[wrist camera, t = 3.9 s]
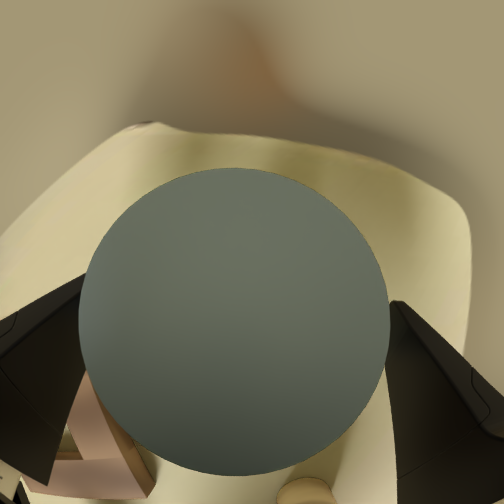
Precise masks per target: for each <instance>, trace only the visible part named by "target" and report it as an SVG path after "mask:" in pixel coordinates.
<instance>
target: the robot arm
mask: <svg viewBox="0 0 504 504" xmlns="http://www.w3.org/2000/svg"><path fill="white" fill-rule="evenodd" d="M85 275H86V273H85V274H83V275H81V276H79V277H77V278H75V279H73V280H71V281H70V282H68V283H66V284H64V285H62V286H60V287H59V288H57V289H55V290H53V291H51V292H49V293H48V294H46V295H44V296H42V297H41V298H39V299H37V300H35V301H34V302H32V303H30V304H28V305H27V306H25V307H23V308H21V309H20V310H19V311H16V312H15V313H13V314H11V315H10V316H8V317H6V318H4V319H3V320H1V321H0V504H30V502H29V500H28V497H27V495H26V493H25V490H24V487H23V485H22V482H21V481H20V477H21V474H22V473H23V474H24V475H26V476H28V477H30V478H31V479H33V480H35V481H37V482H39V483H41V484H43V485H45V486H48V484H49V480H50V476H51V473H52V469H53V465H54V462H55V458H56V455H57V451H58V448H59V445H60V441H61V438H62V435H63V431H64V428H65V425H66V422H67V419H68V417H69V414H70V411H71V408H72V405H73V403H74V400H75V397H76V394H77V392H78V389H79V387H80V384H81V381H82V379H83V376H84V374H85V371H86V366H85V363H84V359H83V355H82V351H81V345H80V337H79V304H80V297H81V291H82V287H83V283H84V279H85ZM389 309H390V337H389V347H388V352H387V356H386V361H385V372H386V378H387V384H388V391H389V398H390V405H391V413H392V422H393V431H394V442H395V454H396V470H397V479H398V480H397V504H504V397H503V396H502V395H501V394H500V393H499V392H498V391H497V390H496V389H495V388H494V387H493V386H491V385H490V384H489V383H488V382H487V381H486V380H485V379H484V378H483V377H482V376H481V375H480V374H479V373H478V372H477V371H476V370H475V369H474V368H473V367H471V365H470V364H469V363H468V362H467V361H466V360H465V359H464V358H463V357H462V356H461V355H460V354H459V353H458V352H457V351H456V350H455V349H454V348H453V347H452V346H451V345H450V344H449V343H448V342H447V341H446V340H445V339H444V338H443V337H442V336H441V335H440V334H439V333H438V332H437V331H436V330H434V329H433V328H432V327H431V326H430V325H429V324H428V323H427V322H426V321H425V320H424V319H423V318H422V317H420V316H419V315H418V314H417V313H416V312H415V311H414V310H413V309H412V308H411V307H409V306H408V305H407V304H406V303H405V302H404V301H397V300H393V301H391V302H390V304H389Z"/></svg>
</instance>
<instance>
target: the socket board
mask: <svg viewBox="0 0 504 504" xmlns="http://www.w3.org/2000/svg"><path fill="white" fill-rule="evenodd" d="M66 423H67V426H68V428H69V430H70V432H71V435H72V437H73V439H74V441H75V443H76V445H77V447H78V449H79V451H71V452H57V455H56V458H55V462H54V465H53V469H52V473H51V476H50V480H49V484H48V486H45V485H43V484H41V483H39V482H37V481H35V480H33V479H31V478H30V477H28V476H26V475H24V474H23V473H22V474H21V476H22V478H23V480H24V481H25V483H26V485H27V487H28V488H29V490H30V492H35V493H41V494H47V495H55V496H63V497H73V498H87V499H144V498H147V497H148V496H149V494H150V493H151V491H152V490H153V488H154V487H155V485H156V484H155V482H154V481H153V479H152V477H151V475H150V474H149V472H148V470H147V468H146V466H145V464H144V463H143V461H142V459H141V457H140V455H139V453H138V451H137V449H136V447H135V445H134V443H133V441H132V439H131V437H130V435H129V434H128V433H127V432H126V431H125V430H124V429H123V428H122V427H121V426H120V425H119V424H118V423H117V422H116V421H115V419H114V418H113V417H112V416H111V414H110V413H109V412H108V410H107V409H106V408H105V406H104V405H103V403H102V401H101V400H100V398H99V396H98V394H97V392H96V391H95V389H94V387H93V385H92V382H91V380H90V377H89V375H88V372H87V370H86V371H85V374H84V376H83V379H82V381H81V384H80V387H79V389H78V392H77V394H76V397H75V400H74V403H73V405H72V408H71V411H70V414H69V417H68V419H67V422H66Z"/></svg>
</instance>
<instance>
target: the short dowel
mask: <svg viewBox="0 0 504 504" xmlns="http://www.w3.org/2000/svg"><path fill="white" fill-rule="evenodd" d="M277 504H337V503H336V501H335V499H334V496H333V494H332V492H331V490H330V488H329V486H328V485H327V484H326V483H325V482H324V481H322V480H320V479H317V478H300V479H297V480H294V481H291V482H289V483H288V484H286V485H285V486H284V487H283V488H281V490H280V491H279V493H278V495H277Z"/></svg>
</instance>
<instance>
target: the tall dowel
mask: <svg viewBox="0 0 504 504" xmlns="http://www.w3.org/2000/svg"><path fill="white" fill-rule="evenodd" d="M79 337H80V345H81V351H82V355H83V359H84V363H85V366H86V370H87V372H88V375H89V377H90V380H91V382H92V385H93V387H94V389H95V391H96V392H97V394H98V396H99V398H100V400H101V401H102V403H103V405H104V406H105V408H106V409H107V410H108V412H109V413H110V414H111V416H112V417H113V418H114V419H115V421H116V422H117V423H118V424H119V425H120V426H121V427H122V428H123V429H124V430H125V431H126V432H127V433H128V434H129V435H130V436H131V437H132V438H133V439H135V440H136V441H137V442H139V443H140V444H141V445H142V446H144V447H145V448H146V449H148V450H150V451H151V452H153V453H155V454H156V455H158V456H160V457H161V458H163V459H165V460H167V461H170V462H172V463H174V464H177V465H179V466H181V467H184V468H188V469H191V470H195V471H198V472H202V473H208V474H214V475H222V476H248V475H257V474H265V473H269V472H273V471H277V470H281V469H284V468H287V467H290V466H292V465H295V464H297V463H299V462H302V461H304V460H306V459H308V458H310V457H311V456H313V455H315V454H317V453H318V452H320V451H322V450H323V449H325V448H326V447H327V446H328V445H330V444H331V443H332V442H334V441H335V440H336V439H337V438H339V437H340V436H341V435H342V434H343V433H344V432H345V431H346V430H347V429H348V428H349V427H350V426H351V425H352V424H353V423H354V421H355V420H356V419H357V417H358V416H359V415H360V413H361V412H362V411H363V409H364V408H365V407H366V405H367V403H368V402H369V400H370V398H371V396H372V394H373V392H374V391H375V389H376V387H377V384H378V382H379V379H380V376H381V374H382V371H383V368H384V365H385V361H386V356H387V352H388V347H389V337H390V309H389V301H388V296H387V290H386V285H385V282H384V279H383V276H382V273H381V270H380V267H379V265H378V263H377V260H376V258H375V256H374V254H373V252H372V250H371V248H370V246H369V245H368V243H367V242H366V240H365V239H364V237H363V236H362V234H361V233H360V231H359V230H358V229H357V228H356V226H355V225H354V224H353V223H352V222H351V221H350V220H349V218H348V217H347V216H346V215H345V214H344V213H343V212H342V211H341V210H339V209H338V208H337V207H336V206H335V205H334V204H333V203H331V202H330V201H329V200H328V199H326V198H325V197H323V196H322V195H320V194H319V193H317V192H316V191H314V190H313V189H311V188H309V187H307V186H305V185H303V184H301V183H299V182H297V181H295V180H292V179H289V178H286V177H283V176H280V175H278V174H274V173H270V172H265V171H260V170H255V169H243V168H224V169H212V170H206V171H201V172H196V173H192V174H189V175H186V176H182V177H179V178H176V179H174V180H172V181H170V182H168V183H165V184H163V185H161V186H159V187H157V188H156V189H154V190H152V191H151V192H149V193H148V194H146V195H144V196H143V197H142V198H140V199H139V200H138V201H137V202H135V203H134V204H133V205H132V206H130V207H129V208H128V209H127V210H126V211H125V212H124V213H123V214H122V215H121V216H120V217H119V218H118V219H117V220H116V221H115V222H114V224H113V225H112V226H111V228H110V229H109V230H108V232H107V233H106V234H105V236H104V237H103V239H102V240H101V242H100V244H99V246H98V247H97V249H96V251H95V253H94V255H93V257H92V259H91V262H90V264H89V267H88V269H87V272H86V275H85V279H84V283H83V287H82V291H81V297H80V304H79Z"/></svg>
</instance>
